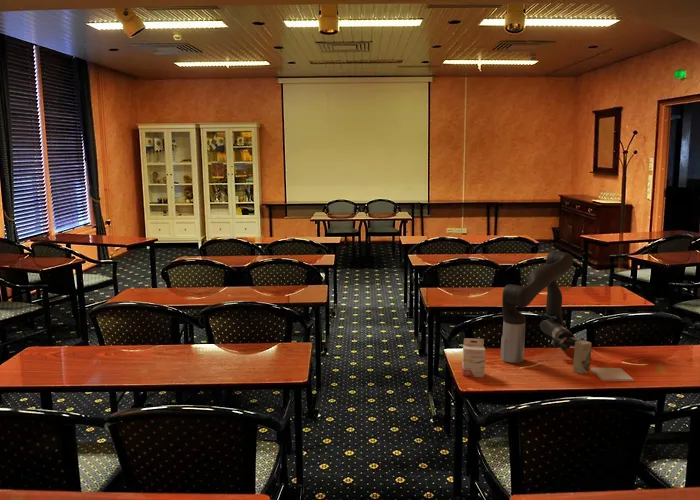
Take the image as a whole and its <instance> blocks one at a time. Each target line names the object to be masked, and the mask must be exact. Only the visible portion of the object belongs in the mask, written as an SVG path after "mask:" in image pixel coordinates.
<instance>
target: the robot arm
mask: <svg viewBox="0 0 700 500" xmlns="http://www.w3.org/2000/svg"><path fill="white" fill-rule="evenodd" d="M573 265H574V257H573V256H572V254H570V253H568V252H564V251H563V252H562V251H554V250H553V251H552V250H551V251H550V252H548V254H547V255H546V260H545V264H544V265H540V266H538V267H536V268H535V269H534V270H532V271H531V272H530V273H529V274H528V276H527V284H528V285H526V286H525V285H524V286H523V285H517V284H509V283H508V284H506V285H505V286H504V288H503V290H502V296H501V297H502V300H501V301H502V304H501V305H502V306H501V307H502V313H501V314H502V318H503V319H502V321H503V324H502V335H501V336H500V337H501V338H500V339H501V341H500V358H501V360H502V362H504V363H505V362H506V363H510V364H511V363H512V364H519V363H522V362H524V359H525V341H526V340H525V339H526V338H525V337H526V335H525V334H526V315H525V314H524V313H522V312H520V311H519V310H518V309H517V308H521V309H523V308H526V307H527V306H529V305H530V304H531V303H532V302H533V301H534V299H535V298H536V297H537V296H538V295H539V294H540V293H541V292H542V291H543V290H544V289H547V290H546V303H545V311H546V313H547V314H550V315H553V316H554V318H549V319H546V320H543V319H542V320H543V321H542V320H541V321H542V322H541V321H540V324H539V328H540V330H541V331H542V333H543V334H545V335H548V336H550V337H552V338H551V345H552V347H553V348H555V349H556V348H557V349H558V348H559V349H561V350H562V351H567V348H572V347H573V348H575V342H576V341H581V340H585V341H587V340H586V339H585V338H580V339H577V338H575V336H574V334H573V333H572V332H571V331H570V330H569V329H567V328H566V327H564V321H563V315H562V307H563V294H562V291H561V289H560V286H559V284H558V283H557V279H558V278H559V277H561V276H562V275H565V274H566V273H568V272H569V271H570V270H571V269H572V266H573ZM555 318H556V319H555ZM550 319H551V320H550Z"/></svg>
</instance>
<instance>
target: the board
mask: <svg viewBox="0 0 700 500" xmlns="http://www.w3.org/2000/svg"><path fill="white" fill-rule="evenodd" d="M590 371H592V372H593V373H594V374H595V375H596V376H597V377H598V378H599V379H600V380H601V381H602V382H603V381H605V382H634V378H632V377H631V376H630V375H629V374H628V373H627V372H626V371H625V370H623V369H622V368H621V367H591V368H590Z"/></svg>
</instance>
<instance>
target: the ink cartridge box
mask: <svg viewBox="0 0 700 500" xmlns="http://www.w3.org/2000/svg"><path fill="white" fill-rule="evenodd" d="M484 342H485V339H484V338H471V337H470V338H468V337H467V338H466V337H465V338H463V345H462V364H461V373H462V376H463V377H475V378H476V377H478V378H484V377H485V366H486V347H485V346H484V344H485V343H484Z"/></svg>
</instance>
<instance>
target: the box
mask: <svg viewBox="0 0 700 500" xmlns="http://www.w3.org/2000/svg"><path fill="white" fill-rule="evenodd" d="M580 340H581V339H580ZM585 340H586V339H584V340H581V341H576V342H575V347H574V353H573V354H574V355H573V367H572V372H574V373H577V374H579V375H585V374H588V373H590V371H591V368H590V367H591V355H592V342H591V341H587V340H586V341H585Z"/></svg>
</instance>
